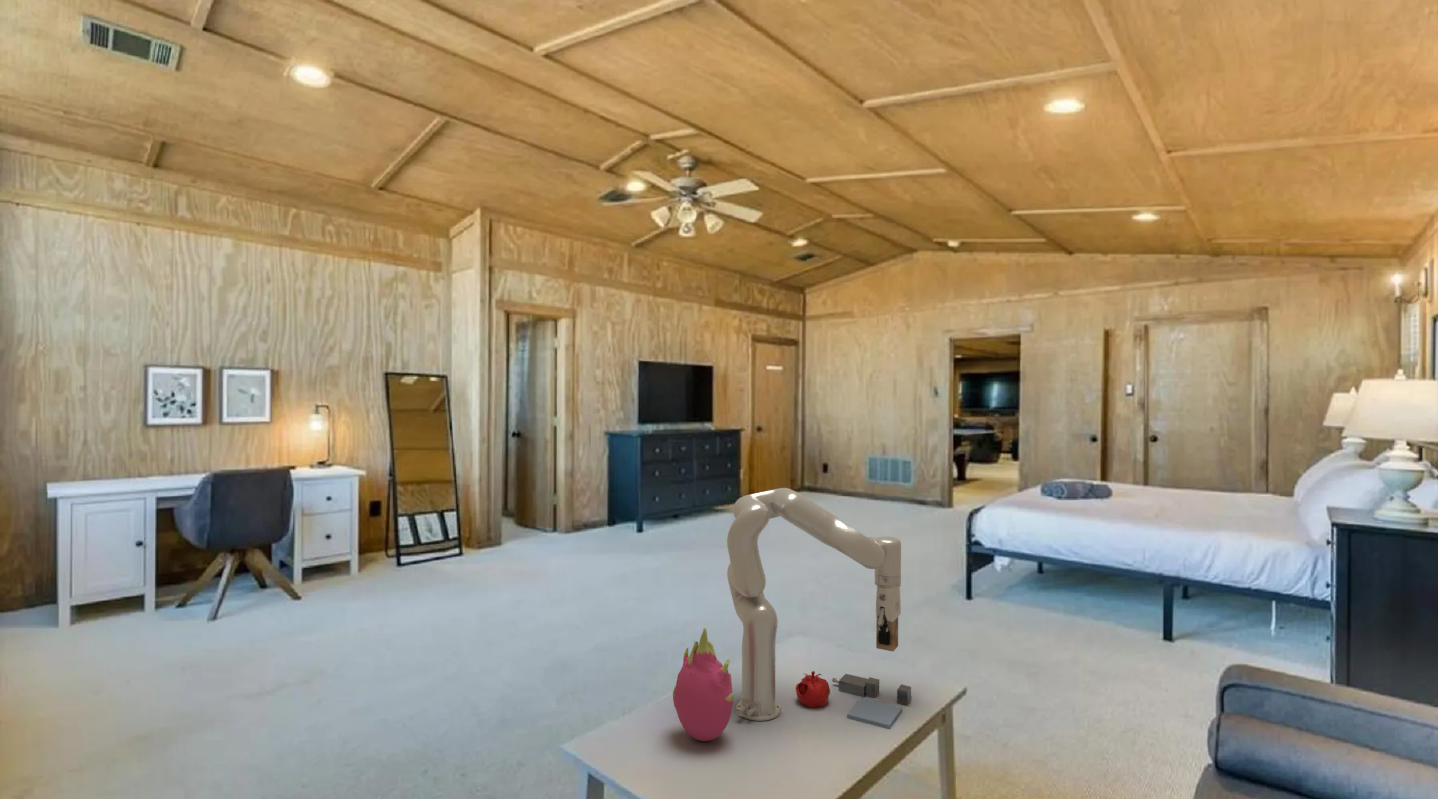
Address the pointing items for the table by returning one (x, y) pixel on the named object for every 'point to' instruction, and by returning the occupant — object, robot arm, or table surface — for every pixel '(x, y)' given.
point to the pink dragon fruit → (703, 692)
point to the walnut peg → (893, 636)
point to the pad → (875, 713)
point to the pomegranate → (813, 690)
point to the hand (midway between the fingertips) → (887, 640)
